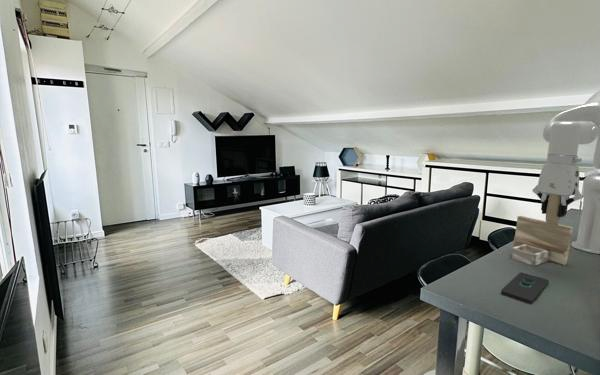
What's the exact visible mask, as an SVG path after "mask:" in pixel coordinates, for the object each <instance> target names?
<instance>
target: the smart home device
mask: <svg viewBox="0 0 600 375" xmlns="http://www.w3.org/2000/svg"><path fill="white" fill-rule="evenodd" d="M549 281H550V280H549V279H547V278H543V277H539V276H535V275H532V274H529V273H525V272H523V271H522V272H519V273H518V274H516V276H515V277H514V278H512V279H511V280H510V281H509V282H508V283H507V284H506V285H505V286H504V287H503V288H502V289H501V293H500V295H502V296H504V297H508V298H511V299H514V300H517V301H520V302H522V301H523V303H525V304H529V305H532V304H534V302H536V300H537V299H539V297H540V296H541V294H542V293H543V291H544V290H545V289H546V288H547V286H548V285H549ZM545 287H546V288H545Z"/></svg>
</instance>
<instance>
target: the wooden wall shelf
mask: <svg viewBox="0 0 600 375" xmlns="http://www.w3.org/2000/svg"><path fill="white" fill-rule="evenodd" d="M516 219H517V220H516V226H515V235H514V237H513V247H511V248H510V252H509V259H512V260H515V261H517V262H521V263H523V264H527V265H530V266H533V267H535V266H537V265H540V264H543V263H546V262H548V261H550V262H554V263H557V264H560V265H564V266H566V265H568V260H569V254H570V248H571V244H572V236H573V230H574V226H569V225H564V224H559V223H557V224H558V226H557V227H556V228H550V227H547V226H546V225H545V222H546V220H540V219H536V218H532V217H528V216H522V215H518V216H517V218H516Z"/></svg>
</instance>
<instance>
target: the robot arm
mask: <svg viewBox="0 0 600 375" xmlns="http://www.w3.org/2000/svg"><path fill="white" fill-rule="evenodd" d="M542 137H543V140H544V141H545V142H547V143H548V148H547V156H546V162H545V163H544V164H543V165H542V168H541V171H540V173H539V174H540V175H539V179H538V183H537V184H536V186H534V188H533V189H532V192H533V193H534V194H535V195H537V197H538V199H540V202H541V207H540V208H541V209H540V210H541V214H543V215H546V209H547V204H548V200H549V195H550V194H554V195H559V196H561V205H559V211H558V217H560V218H563V217H565V216H566V215H567V213H568V206H569V205H570V204H572V203H573V202H576V201H579V200H581V199H583V200H582V201H583V202H582V206H581V207H582V208H581V215H580V220H579V226H578V232H577V238H576V241H571V243H570V247H572V248H575V250H579V251H583V252H586V253H590V254H598V255H600V173H591V174H588V175H587V176H586V177H585V178H584V179H583V184H582V188H583V195H582V194H581V192H580V190H579V189H580V167H579V165H576V164H577V163H581V162H582V161H583V160H582V159H583V158H581V157H578V151H579V145H588V144H591V143H593V142H594V141H595V140H596V144H595V149H594V152H593V153H594V154H593V159H592V161H593V162H592V166H593V168H595V169H596V170H600V90H597V91H596V92H594V93H593V95H591V96H590V97H589V98H588V100H586V101H585V103H583V104H582V105H580V106H577V107H574V108H570V109H568V110H565V111H562V112H560V113H558V114H556V115H554V116H553V117H552V118H551V119H550V120H548V122H547V123H546V125H545V126H544V128H543V132H542ZM550 183H554V184H555V185H554V187H556V188H551V187H549V185H550ZM572 196H573V197H572Z"/></svg>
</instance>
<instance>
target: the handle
mask: <svg viewBox="0 0 600 375" xmlns="http://www.w3.org/2000/svg"><path fill="white" fill-rule="evenodd" d="M554 185H555V184H554V183H550V185H549V187H551V188H556V187H554ZM559 205H561V196H559V195H554V194H550V195H549V200H548V204H547V209H546V214H545V221H546V222H545V225H546V226H547V227H550V228H556V227H557V226H558V224H559V222H560V218H561V217H558V211H559Z"/></svg>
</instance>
